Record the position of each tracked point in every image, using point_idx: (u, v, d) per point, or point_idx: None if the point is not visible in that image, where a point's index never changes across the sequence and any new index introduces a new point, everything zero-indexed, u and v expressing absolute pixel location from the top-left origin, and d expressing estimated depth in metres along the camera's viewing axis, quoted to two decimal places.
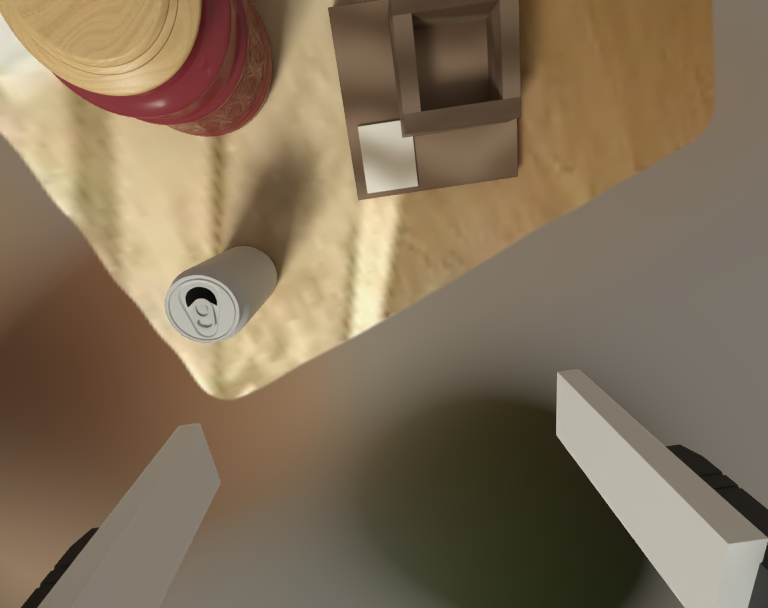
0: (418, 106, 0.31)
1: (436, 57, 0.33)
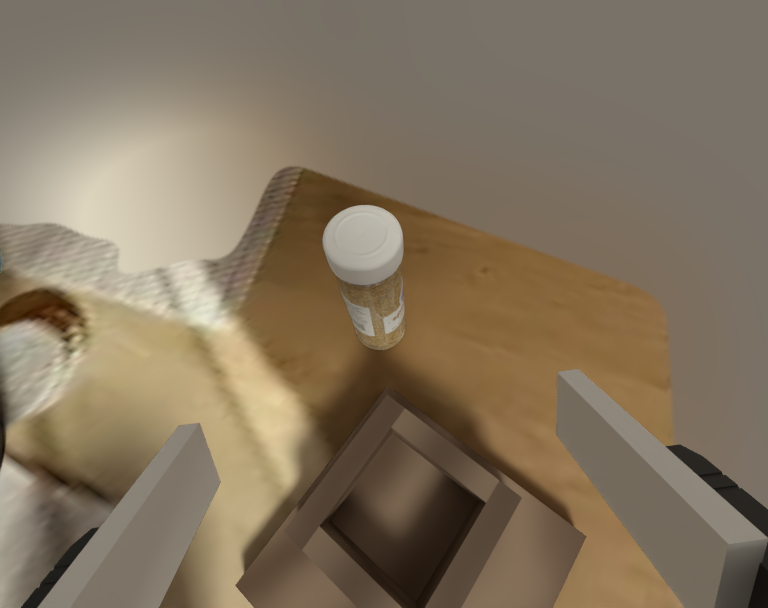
0: None
1: (380, 513, 0.25)
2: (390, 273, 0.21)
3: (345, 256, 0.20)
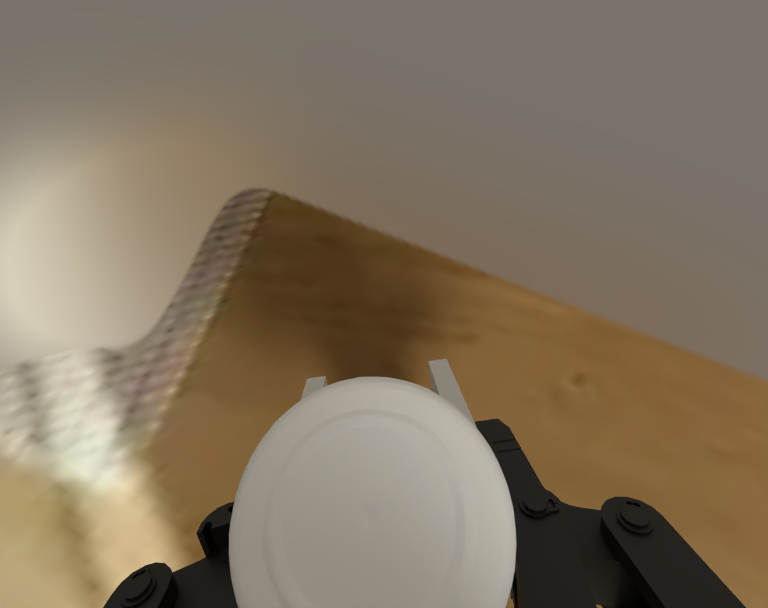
0: None
1: None
2: None
3: None
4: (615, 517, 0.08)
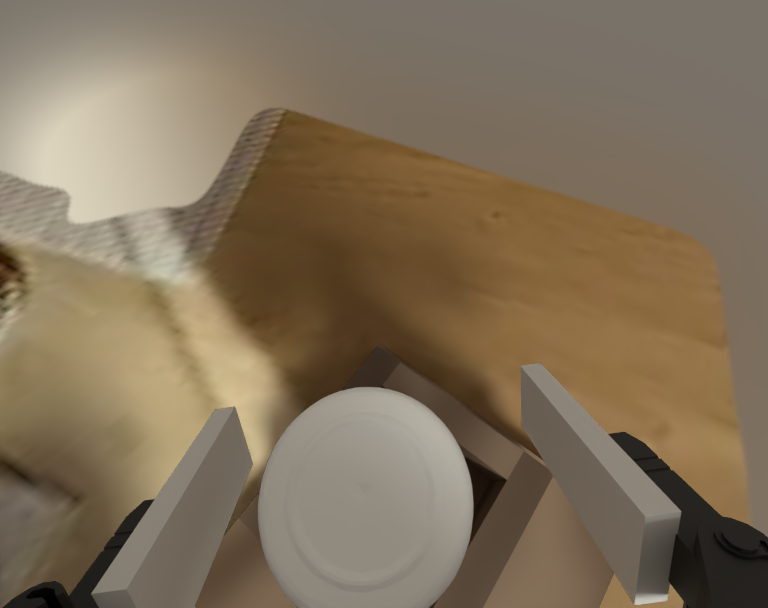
0: None
1: None
2: None
3: (316, 581, 0.07)
4: None
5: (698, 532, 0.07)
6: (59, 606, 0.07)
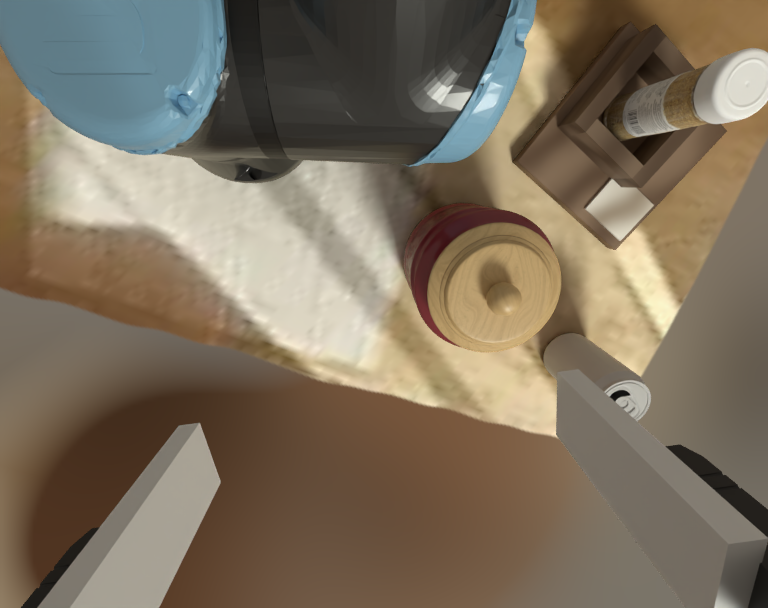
0: (639, 164, 0.37)
1: None
2: None
3: (729, 107, 0.26)
4: None
5: None
6: None
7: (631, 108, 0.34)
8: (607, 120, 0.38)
